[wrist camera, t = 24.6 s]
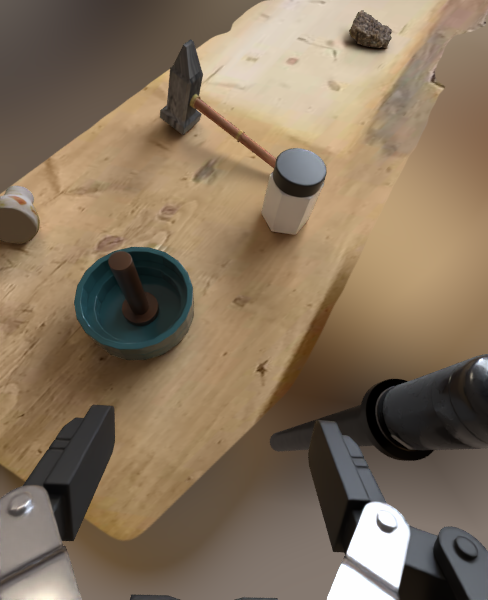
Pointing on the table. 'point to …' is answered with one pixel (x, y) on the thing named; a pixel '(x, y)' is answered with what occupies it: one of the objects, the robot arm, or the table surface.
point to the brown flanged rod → (133, 291)
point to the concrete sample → (370, 31)
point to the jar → (293, 190)
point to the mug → (18, 216)
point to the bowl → (109, 298)
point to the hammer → (197, 102)
